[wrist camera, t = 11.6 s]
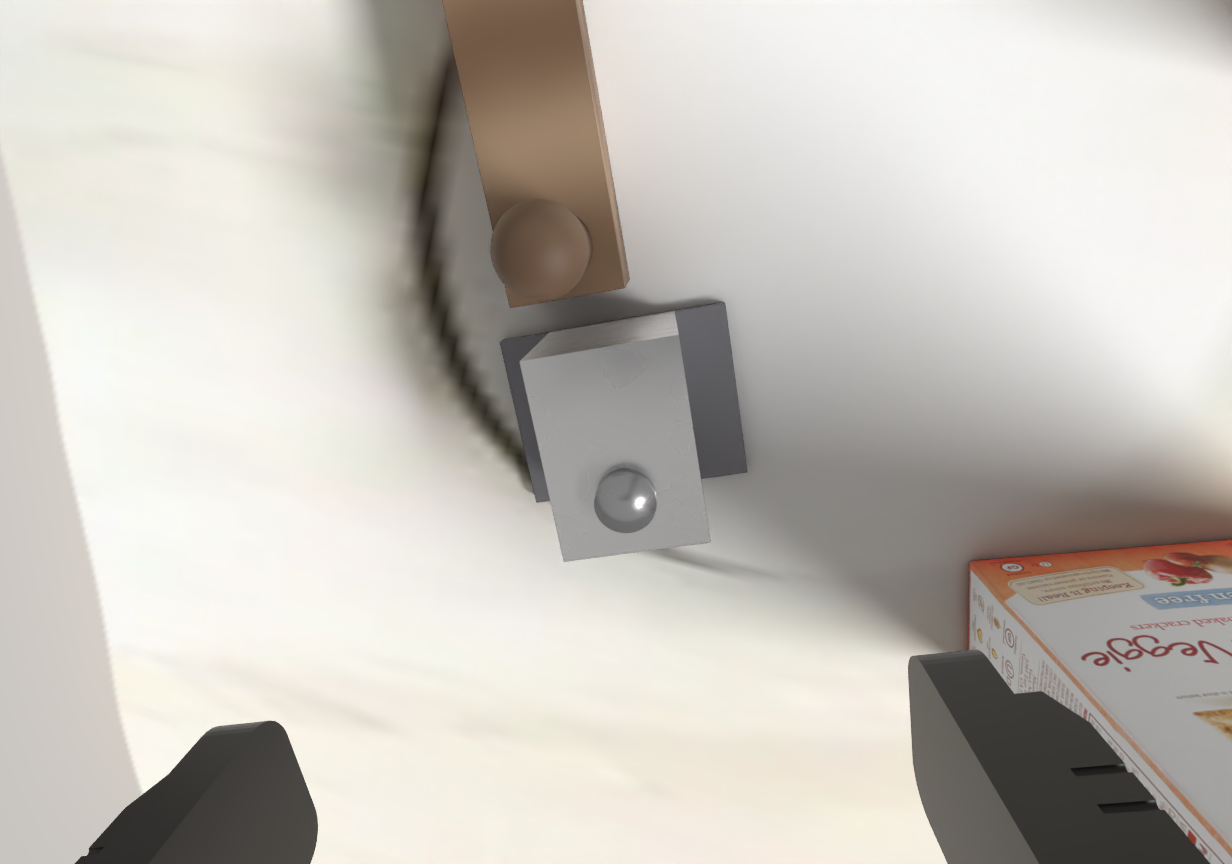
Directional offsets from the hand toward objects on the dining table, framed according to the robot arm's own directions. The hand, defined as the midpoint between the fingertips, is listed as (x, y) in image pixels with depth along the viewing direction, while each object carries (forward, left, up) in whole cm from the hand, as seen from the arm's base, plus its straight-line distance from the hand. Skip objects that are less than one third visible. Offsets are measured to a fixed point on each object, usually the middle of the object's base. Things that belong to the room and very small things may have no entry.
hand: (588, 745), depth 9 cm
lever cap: (+1, -1, -20) cm, 20 cm away
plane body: (-12, -2, -20) cm, 24 cm away
